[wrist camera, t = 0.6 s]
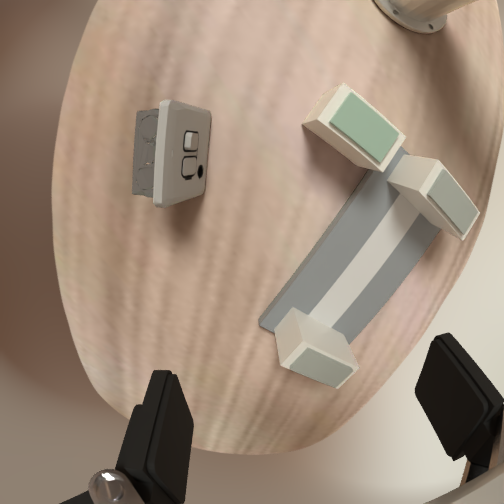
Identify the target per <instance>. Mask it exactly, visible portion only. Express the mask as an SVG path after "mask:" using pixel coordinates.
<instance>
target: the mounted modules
mask: <svg viewBox="0 0 504 504" xmlns="http://www.w3.org/2000/svg"><path fill="white" fill-rule="evenodd" d="M387 181H388V182H389V183H390V184H391V185H392V186H393V187H394V188H395V189H396V190H398V191H399V192H400V193H401V194H402V195H403V196H404V197H405V198H406V199H407V200H408V201H409V202H410V203H411V204H412V205H413V206H414V207H415V208H416V209H417V210H418V211H419V212H420V213H421V214H422V215H423V216H424V217H425V218H426V219H427V220H428V221H429V222H430V223H431V224H433V225H435V226H437V227H439V228H440V229H442V230H444V231H446V232H448V233H450V234H452V235H453V236H455V237H457V238H459V239H460V240H462V241H463V240H464V239H465V237H466V236H467V234H468V233H469V231H470V229H471V228H472V226H473V224H474V223H475V221H476V219H477V218H478V216H479V214H480V212H479V210H478V209H477V207H476V206H475V205H474V203H473V202H472V201H471V199H470V198H469V197H468V195H467V194H466V193H465V191H464V190H463V189H462V187H461V186H460V185H459V184H458V182H457V181H456V180H455V179H454V177H453V176H452V175H451V174H450V173H449V171H448V170H447V169H446V168H445V167H444V166H443V164H442V163H441V162H440V161H439V160H438V159H433V158H426V157H420V156H413V155H406V154H404V155H403V156H402V158H401V160H400V161H399V163H398V164H397V166H396V167H395V169H394V170H393V172H392V173H391V175H390V176H389V178H388V179H387ZM274 331H275V337H276V343H277V349H278V355H279V361H280V366H283V367H285V368H287V369H290V370H292V371H294V372H296V373H299V374H301V375H304V376H306V377H309V378H311V379H313V380H316V381H318V382H321V383H323V384H326V385H329V386H331V387H334V388H337V389H338V388H339V387H340V386H341V385H343V384H344V383H345V382H346V381H347V380H348V379H349V378H350V377H351V376H352V375H353V374H354V373H355V372H356V371H357V370H358V369H359V368H360V367H359V365H358V363H357V361H356V359H355V357H354V355H353V353H352V351H351V348H350V346H349V344H348V342H347V340H346V338H345V336H344V334H342V333H340V332H338V331H336V330H334V329H333V328H330V327H329V326H327V325H325V324H323V323H321V322H319V321H318V320H316V319H314V318H312V317H310V316H308V315H307V314H305V313H303V312H301V311H300V310H298V309H296V308H294V307H292V308H291V310H290V311H289V312H288V313H287V314H286V316H285V317H284V318H283V319H282V320H281V322H280V323H279V324H278V325H277V326H276V328H275V329H274Z"/></svg>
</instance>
